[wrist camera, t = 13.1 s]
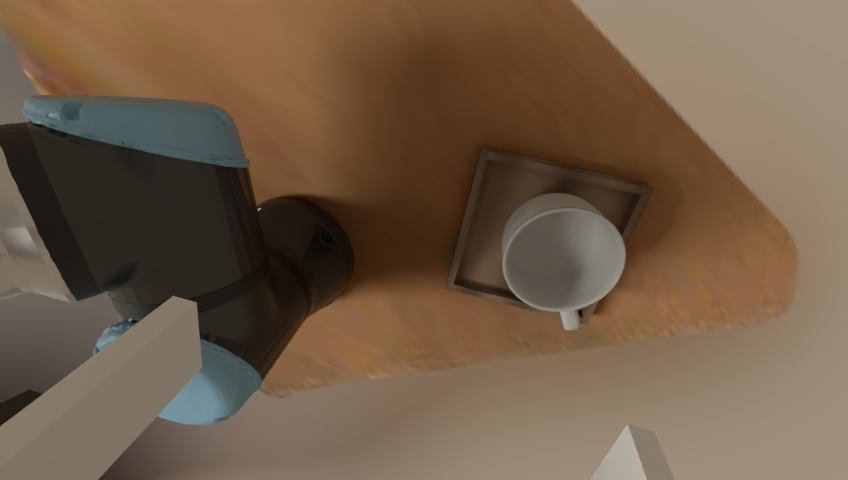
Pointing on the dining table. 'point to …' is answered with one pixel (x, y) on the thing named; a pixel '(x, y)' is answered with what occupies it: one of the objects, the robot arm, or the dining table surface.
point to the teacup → (561, 255)
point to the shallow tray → (505, 192)
